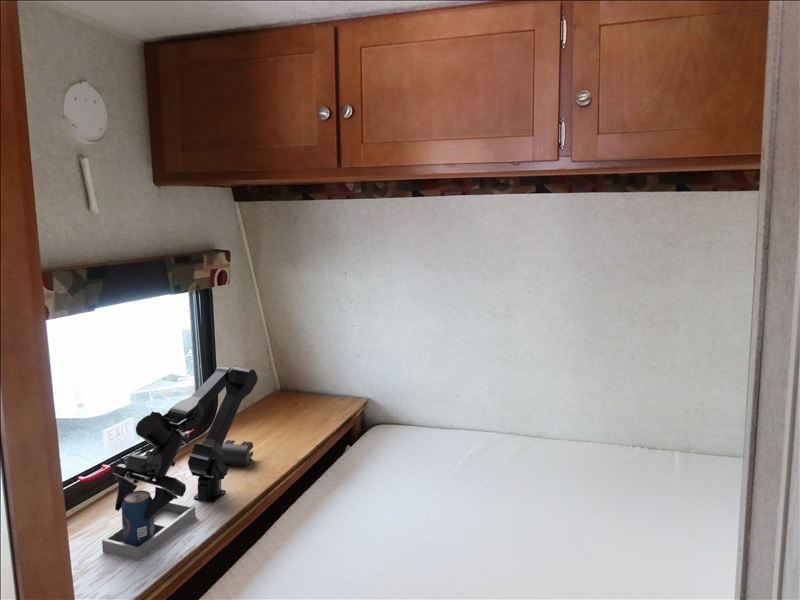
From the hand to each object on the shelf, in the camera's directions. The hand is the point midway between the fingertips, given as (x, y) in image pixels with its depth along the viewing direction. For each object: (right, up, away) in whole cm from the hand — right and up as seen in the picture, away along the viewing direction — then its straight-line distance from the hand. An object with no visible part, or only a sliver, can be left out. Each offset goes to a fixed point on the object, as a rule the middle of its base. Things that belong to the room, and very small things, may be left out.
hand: (131, 514), depth 138 cm
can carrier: (+2, -7, +7) cm, 11 cm away
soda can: (+1, -8, +3) cm, 8 cm away
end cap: (+11, -1, +47) cm, 48 cm away
